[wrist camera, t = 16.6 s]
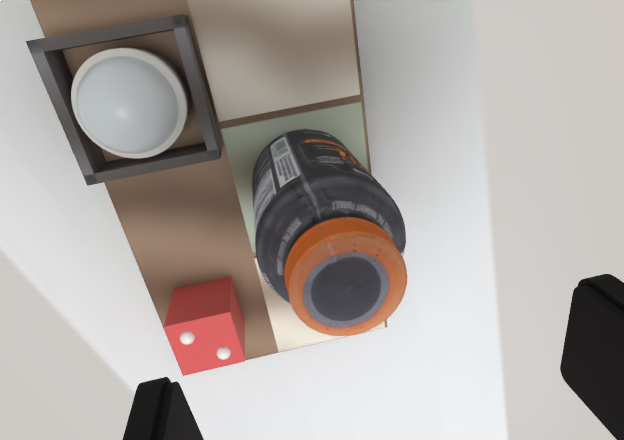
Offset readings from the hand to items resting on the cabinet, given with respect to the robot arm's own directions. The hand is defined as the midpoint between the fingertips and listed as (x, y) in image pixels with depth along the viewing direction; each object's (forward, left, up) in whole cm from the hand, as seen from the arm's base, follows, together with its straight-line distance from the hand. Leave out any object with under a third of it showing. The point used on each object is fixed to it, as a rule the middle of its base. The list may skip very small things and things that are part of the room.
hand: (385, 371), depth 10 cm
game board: (+1, -3, -16) cm, 17 cm away
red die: (+8, -7, -16) cm, 19 cm away
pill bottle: (0, 0, -15) cm, 15 cm away
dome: (-5, -7, -15) cm, 18 cm away
